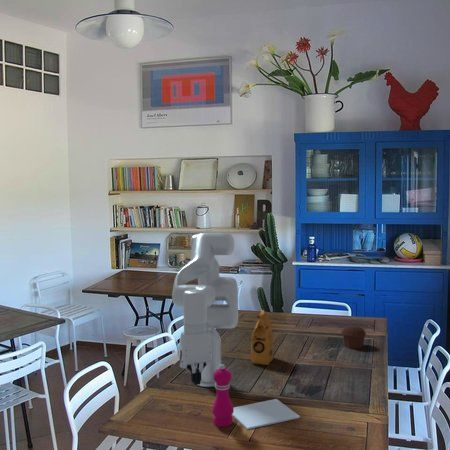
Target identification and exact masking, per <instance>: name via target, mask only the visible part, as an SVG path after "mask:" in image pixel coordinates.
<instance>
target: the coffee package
mask: <svg viewBox="0 0 450 450" xmlns="http://www.w3.org/2000/svg"><path fill="white" fill-rule="evenodd" d="M256 319H258V320H257V322H256V324H255V326H254V328H253V331H252V334H251V338H250V339H251V340H250V350H251V351H250V354H251V356H250V358H251V363H252V364H256V365H264V366H265V365H266V366H269V365H270V363H271V362H272V361H273V359H274V336H273V328H272V327H273V326H272V323H271V320H270V318H269V317H268V315H267V313H266V312H265V310H264V309H262V310H261V311H260V314H258V315H257V316H256Z"/></svg>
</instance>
